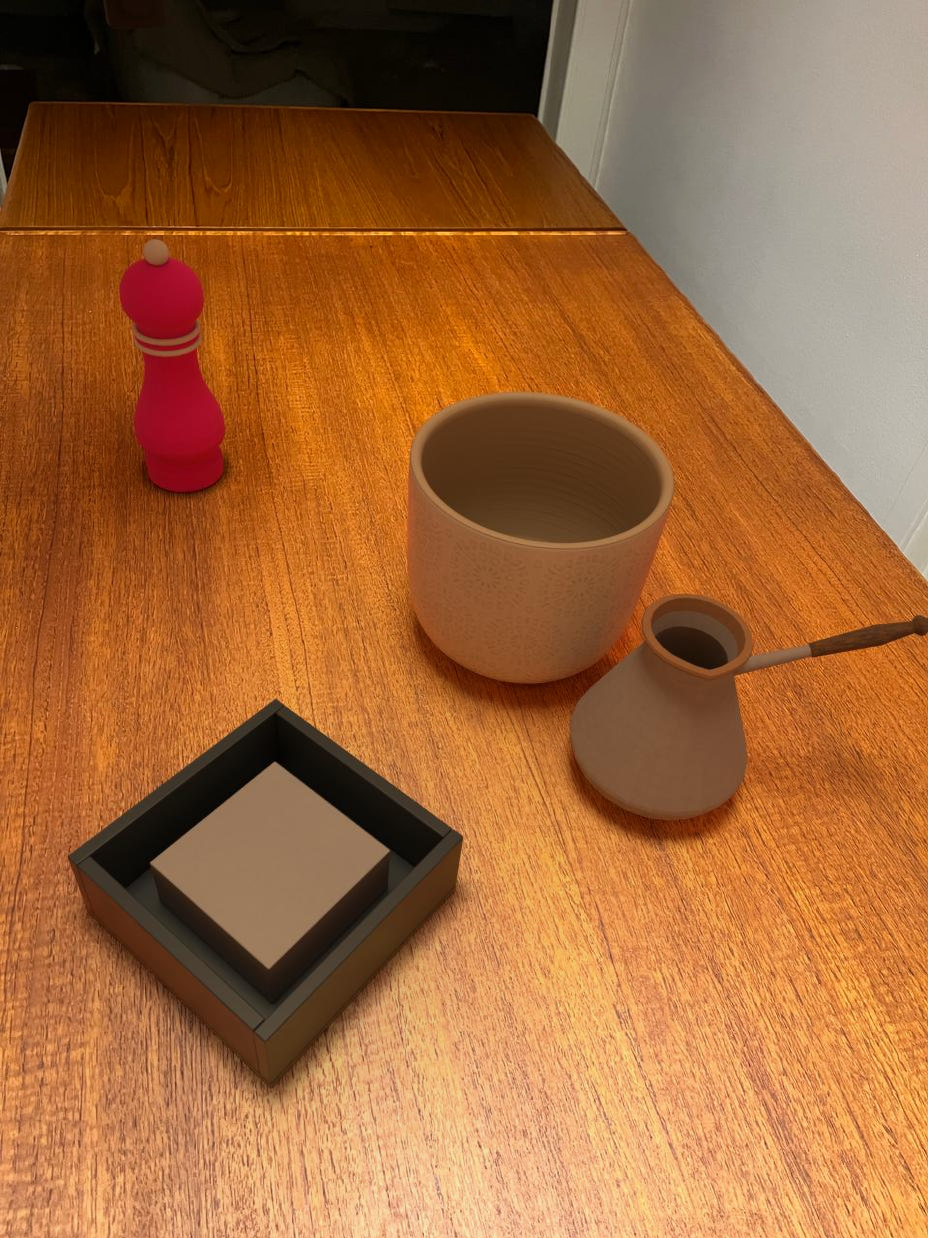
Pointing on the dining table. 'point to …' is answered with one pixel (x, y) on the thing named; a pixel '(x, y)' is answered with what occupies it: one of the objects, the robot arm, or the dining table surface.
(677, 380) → the dining table surface
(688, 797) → the coffee pot
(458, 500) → the planter
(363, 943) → the dark square tray
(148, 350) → the pepper mill
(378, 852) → the brown square block
